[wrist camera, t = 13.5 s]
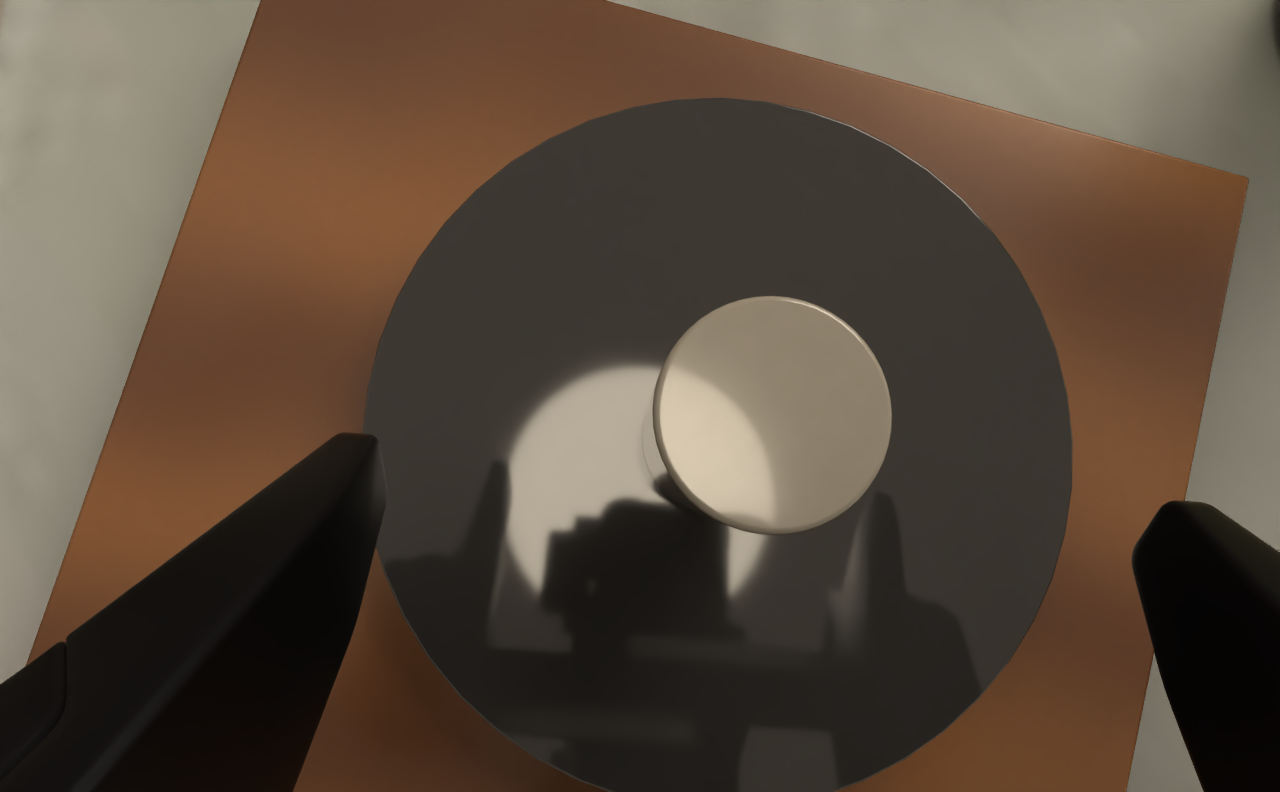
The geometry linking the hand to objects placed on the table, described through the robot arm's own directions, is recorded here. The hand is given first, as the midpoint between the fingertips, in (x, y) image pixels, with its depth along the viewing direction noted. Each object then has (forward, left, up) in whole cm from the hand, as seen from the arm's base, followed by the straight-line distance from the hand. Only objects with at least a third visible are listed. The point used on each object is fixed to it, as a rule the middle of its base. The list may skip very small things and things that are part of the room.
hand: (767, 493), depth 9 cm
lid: (+1, 0, -5) cm, 5 cm away
